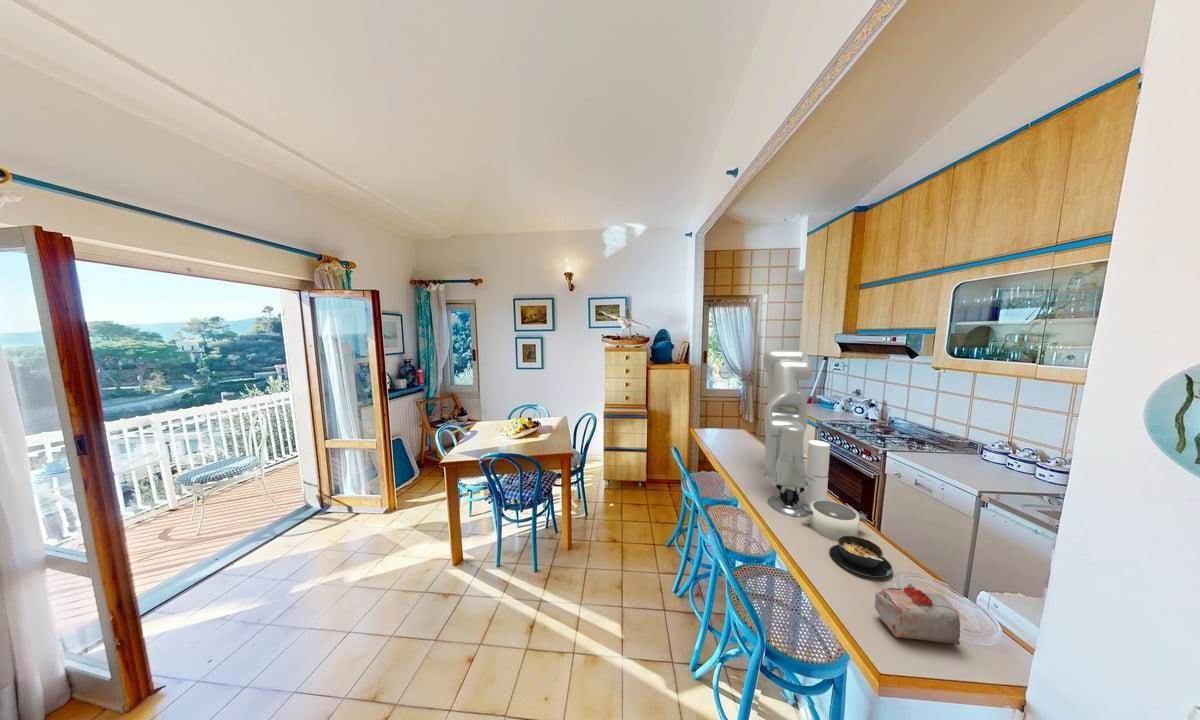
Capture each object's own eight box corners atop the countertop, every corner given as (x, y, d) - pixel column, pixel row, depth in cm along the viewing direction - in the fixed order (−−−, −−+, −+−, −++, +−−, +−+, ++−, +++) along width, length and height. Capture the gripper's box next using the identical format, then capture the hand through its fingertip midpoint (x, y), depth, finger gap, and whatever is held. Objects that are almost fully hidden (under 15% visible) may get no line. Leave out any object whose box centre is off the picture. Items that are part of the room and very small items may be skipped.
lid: (764, 496, 140) (764, 479, 140) (804, 501, 136) (805, 484, 135) (771, 515, 126) (772, 497, 125) (817, 521, 121) (818, 503, 121)
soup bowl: (886, 557, 102) (888, 534, 101) (898, 592, 88) (900, 566, 88) (827, 541, 110) (828, 520, 109) (830, 571, 96) (832, 547, 96)
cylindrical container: (825, 510, 128) (829, 447, 126) (804, 504, 133) (807, 443, 130) (826, 502, 134) (830, 442, 132) (806, 497, 138) (809, 439, 136)
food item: (894, 642, 74) (897, 601, 73) (870, 612, 82) (873, 575, 81) (964, 650, 72) (968, 608, 71) (933, 619, 80) (936, 581, 79)
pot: (797, 514, 125) (798, 496, 125) (854, 522, 120) (856, 503, 120) (809, 536, 112) (810, 516, 111) (874, 546, 107) (875, 525, 106)
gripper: (812, 455, 130) (809, 500, 132) (766, 451, 135) (764, 494, 136) (819, 463, 123) (816, 510, 125) (769, 458, 128) (767, 503, 129)
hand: (789, 501), depth 131 cm, fingers open, 3 cm apart
